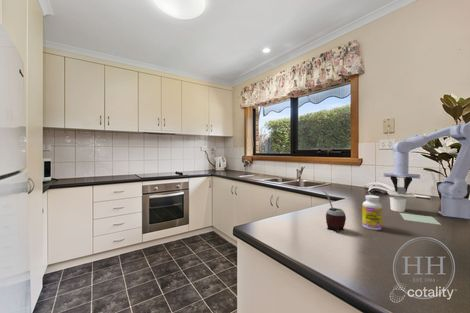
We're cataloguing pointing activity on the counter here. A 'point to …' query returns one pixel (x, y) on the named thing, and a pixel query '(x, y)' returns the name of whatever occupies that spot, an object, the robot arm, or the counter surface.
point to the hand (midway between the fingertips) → (400, 191)
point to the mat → (419, 218)
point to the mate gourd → (335, 218)
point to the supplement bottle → (372, 213)
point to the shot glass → (397, 204)
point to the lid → (401, 192)
